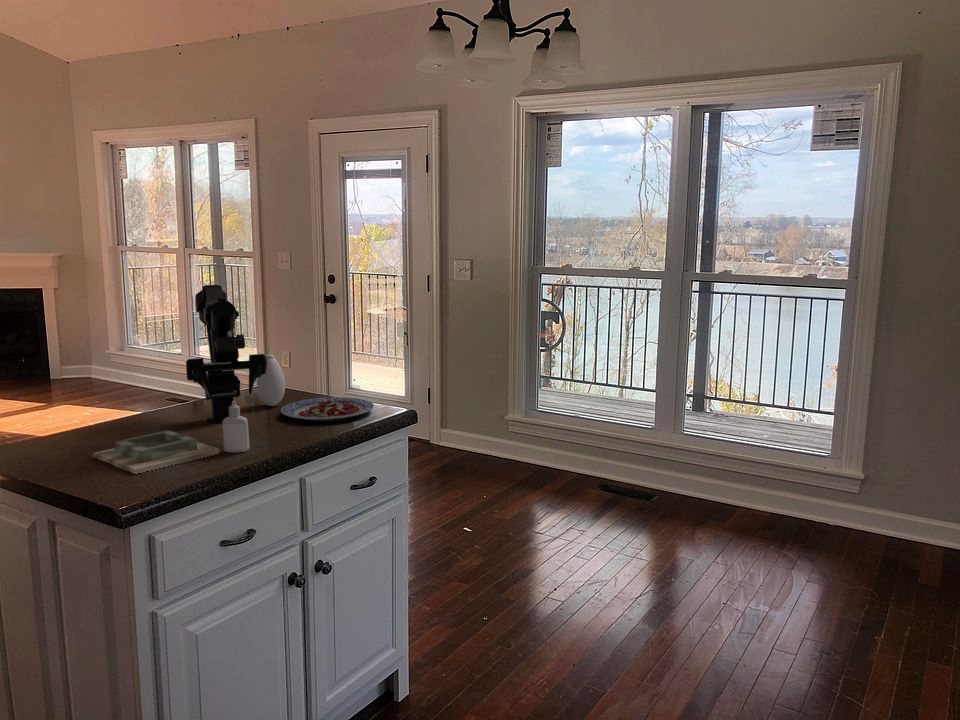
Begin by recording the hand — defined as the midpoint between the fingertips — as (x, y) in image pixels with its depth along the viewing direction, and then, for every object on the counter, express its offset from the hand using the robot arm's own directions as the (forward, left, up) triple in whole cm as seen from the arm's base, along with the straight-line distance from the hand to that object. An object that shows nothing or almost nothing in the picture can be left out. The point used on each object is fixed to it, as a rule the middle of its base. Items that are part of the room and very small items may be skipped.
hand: (230, 395), depth 185 cm
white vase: (-28, +30, -12) cm, 43 cm away
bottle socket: (-6, -17, -12) cm, 21 cm away
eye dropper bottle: (+5, -3, -12) cm, 14 cm away
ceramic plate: (-7, +34, -13) cm, 37 cm away
